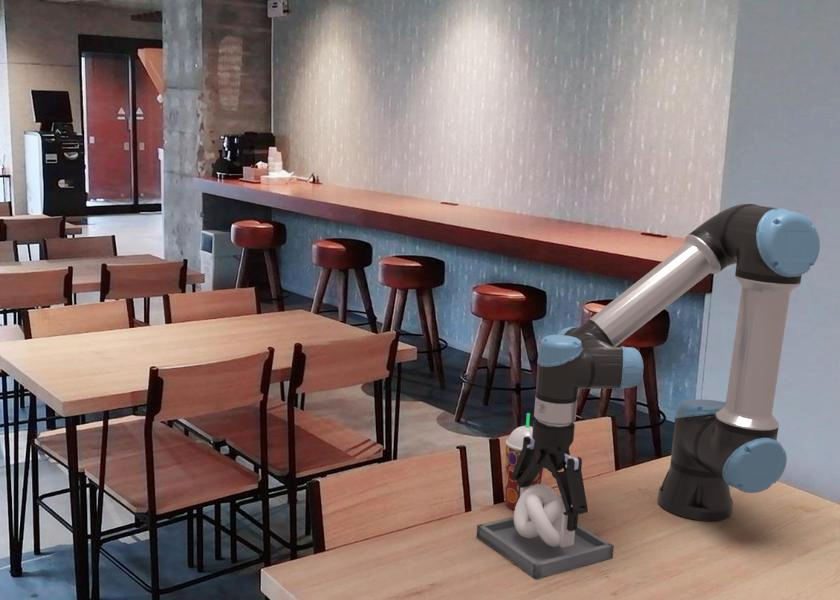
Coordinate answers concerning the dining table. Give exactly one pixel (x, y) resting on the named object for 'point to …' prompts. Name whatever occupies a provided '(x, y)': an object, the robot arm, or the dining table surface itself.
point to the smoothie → (512, 455)
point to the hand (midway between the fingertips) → (545, 531)
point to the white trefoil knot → (540, 514)
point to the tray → (543, 549)
